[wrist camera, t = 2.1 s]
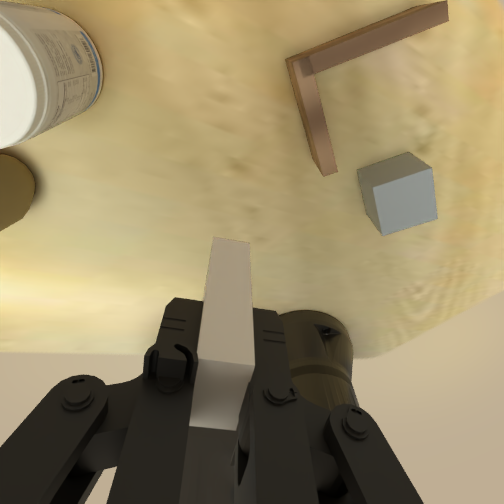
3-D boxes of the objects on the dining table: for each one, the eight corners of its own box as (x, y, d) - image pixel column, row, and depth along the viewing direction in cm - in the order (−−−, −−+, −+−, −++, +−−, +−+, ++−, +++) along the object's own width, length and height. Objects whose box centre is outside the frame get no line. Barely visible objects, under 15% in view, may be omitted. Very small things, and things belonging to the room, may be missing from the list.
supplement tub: (-8, 77, 36) (-141, 96, 24) (23, -19, 33) (-115, -56, 20) (85, 134, 39) (11, 178, 27) (123, 53, 36) (58, 60, 23)
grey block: (414, 197, 44) (437, 218, 39) (366, 213, 45) (382, 236, 40) (408, 151, 41) (432, 167, 36) (356, 169, 42) (372, 187, 37)
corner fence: (428, 118, 39) (456, 130, 34) (313, 159, 41) (323, 176, 36) (416, 6, 34) (447, 0, 29) (285, 59, 36) (292, 62, 31)
